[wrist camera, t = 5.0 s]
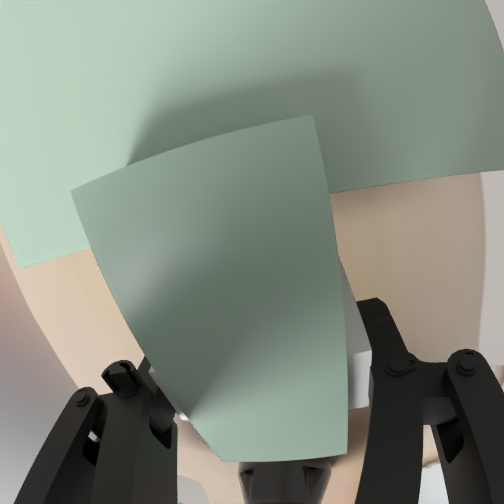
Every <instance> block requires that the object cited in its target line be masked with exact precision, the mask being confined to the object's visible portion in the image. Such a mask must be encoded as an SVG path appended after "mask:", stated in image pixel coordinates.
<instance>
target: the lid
mask: <svg viewBox="0 0 504 504" xmlns="http://www.w3.org/2000/svg"><path fill="white" fill-rule="evenodd" d="M497 170H504V52H503V48H502V45H501V42H500V39H499V36H498V33H497V30H496V28H495V25H494V22H493V20H492V17H491V15H490V12H489V10H488V7H487V5H486V3H485V1H484V0H0V221H1V224H2V227H3V230H4V232H5V235H6V238H7V240H8V243H9V245H10V248H11V250H12V253H13V255H14V258H15V260H16V262H17V265H18V267H19V269H23V268H26V267H29V266H32V265H36V264H39V263H42V262H45V261H49V260H52V259H55V258H59V257H62V256H65V255H69V254H72V253H76V252H79V251H83V250H86V249H90V248H91V249H92V252H93V254H94V256H95V259H96V261H97V263H98V265H99V268H100V270H101V272H102V274H103V277H104V279H105V281H106V283H107V285H108V287H109V289H110V291H111V293H112V295H113V298H114V300H115V302H116V304H117V305H118V307H119V309H120V311H121V313H122V315H123V317H124V319H125V321H126V323H127V324H128V326H129V328H130V330H131V332H132V334H133V335H134V337H135V339H136V341H137V342H138V344H139V346H140V347H141V349H142V351H143V353H144V354H145V356H146V358H147V359H148V361H149V362H150V364H151V366H152V367H153V369H154V370H155V372H156V374H157V375H158V377H159V378H160V380H161V381H162V383H163V384H164V386H165V387H166V389H167V390H168V392H169V393H170V395H171V396H172V398H173V399H174V400H175V402H176V403H177V405H178V406H179V408H180V409H181V410H182V412H183V413H184V414H185V416H186V417H187V418H188V420H189V421H190V422H191V424H192V425H193V426H194V428H195V429H196V430H197V432H198V433H199V434H200V435H201V437H202V438H203V439H204V440H205V442H206V443H207V444H208V445H209V447H210V448H211V449H212V450H213V451H214V453H215V454H216V455H217V456H218V457H219V458H220V460H221V461H234V462H268V461H289V460H302V459H312V458H321V457H328V456H335V455H342V454H347V440H348V376H347V351H346V333H345V319H344V306H343V295H342V285H341V276H340V267H339V258H338V250H337V243H336V236H335V229H334V222H333V215H332V209H331V203H330V197H329V194H331V193H337V192H343V191H349V190H355V189H361V188H367V187H373V186H379V185H386V184H392V183H399V182H406V181H413V180H420V179H427V178H435V177H443V176H451V175H459V174H468V173H477V172H486V171H497Z"/></svg>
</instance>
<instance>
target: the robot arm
mask: <svg viewBox="0 0 504 504" xmlns="http://www.w3.org/2000/svg"><path fill="white" fill-rule="evenodd" d="M338 258H339V256H338ZM339 267H340V276H341V285H342V295H343V306H344V319H345V333H346V351H347V376H348V410H352V409H357V408H362V407H367V406H368V404H369V402H370V407H371V416H370V423H369V431H368V438H367V445H366V451H365V457H364V462H363V468H362V473H361V478H360V483H359V487H358V492H357V496H356V500H355V504H418V500H419V493H420V484H421V473H422V458H423V425H430V426H431V429H432V433H433V436H434V440H435V444H436V447H437V451H438V455H439V459H440V463H441V467H442V471H443V476H444V480H445V485H446V490H447V495H448V500H449V504H504V392H503V390H502V388H501V386H500V384H499V382H498V380H497V379H496V377H495V375H494V373H493V371H492V370H491V368H490V366H489V364H488V363H487V361H486V359H485V358H484V357H483V356H482V355H481V354H480V353H479V352H477V351H475V350H471V349H463V350H458V351H456V352H455V353H453V354H452V355H451V356H450V357H449V359H448V361H447V362H439V363H429V362H423V361H419V360H418V359H417V358H416V357H415V356H414V355H413V354H411V353H409V352H408V351H407V349H406V346H405V344H404V342H403V340H402V337H401V335H400V333H399V331H398V329H397V326H396V324H395V322H394V320H393V318H392V316H391V315H390V311H389V309H388V307H387V305H386V304H385V303H384V302H382V301H381V300H380V299H378V298H372V299H368V300H363V301H358V302H356V301H355V298H354V295H353V293H352V290H351V287H350V284H349V282H348V279H347V276H346V274H345V271H344V268H343V266H342V263H341V261H340V258H339ZM101 376H102V378H103V379H104V380H105V382H106V383H107V384H108V386H109V387H110V388H111V390H112V391H113V393H109V394H103V395H98V394H97V392H96V391H95V390H94V389H93V388H91V387H84V388H81V389H79V390H78V391H76V392H75V393H74V394H73V395H72V397H71V398H70V400H69V401H68V403H67V404H66V406H65V408H64V409H63V411H62V413H61V415H60V416H59V418H58V420H57V421H56V423H55V425H54V427H53V428H52V430H51V432H50V433H49V435H48V437H47V439H46V441H45V443H44V444H43V446H42V448H41V450H40V452H39V454H38V455H37V457H36V459H35V461H34V463H33V465H32V467H31V469H30V471H29V473H28V475H27V477H26V479H25V481H24V483H23V485H22V487H21V489H20V491H19V493H18V496H17V498H16V500H15V502H14V504H183V503H178V502H177V434H178V429H177V424H176V423H175V422H174V421H173V418H174V415H175V412H176V413H177V414H178V415H179V417H180V418H181V419H182V420H188V418H187V417H186V416H185V414H184V413H183V412H182V410H181V409H180V408H179V406H178V405H177V403H176V402H175V400H174V399H173V398H172V396H171V395H170V393H169V392H168V390H167V389H166V387H165V386H164V384H163V383H162V381H161V380H160V378H159V377H158V375H157V374H156V372H155V370H154V369H153V367H152V366H151V364H150V362H149V361H148V359H147V358H146V356H145V357H144V359H143V360H142V362H141V364H140V366H139V368H138V370H136V368H135V366H134V365H133V364H132V362H130V361H128V360H120V361H117V362H114V363H113V364H111V365H109V366H108V367H107V368H106V369H105V370H104V371H103V373H102V375H101ZM90 431H92V432H93V433H94V434H95V435H96V436H97V439H96V440H95V441H93V440H91V439H90V438H89V437H88V435H89V433H90ZM238 477H239V481H240V485H241V490H242V494H243V498H244V503H245V504H321V502H322V499H323V496H324V494H325V491H326V488H327V485H328V482H329V480H330V477H331V461H330V460H329V459H328V458H327V457H321V458H312V459H302V460H289V461H268V462H240V463H239V470H238Z"/></svg>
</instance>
